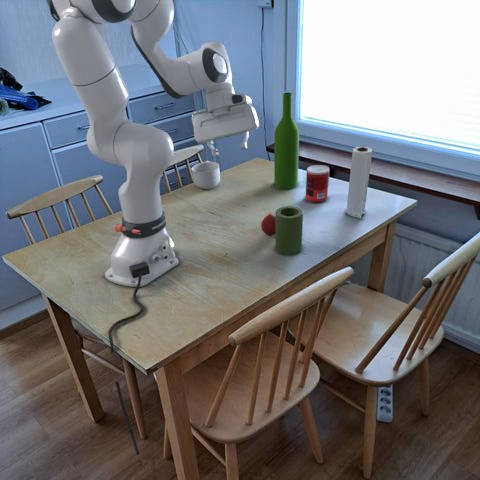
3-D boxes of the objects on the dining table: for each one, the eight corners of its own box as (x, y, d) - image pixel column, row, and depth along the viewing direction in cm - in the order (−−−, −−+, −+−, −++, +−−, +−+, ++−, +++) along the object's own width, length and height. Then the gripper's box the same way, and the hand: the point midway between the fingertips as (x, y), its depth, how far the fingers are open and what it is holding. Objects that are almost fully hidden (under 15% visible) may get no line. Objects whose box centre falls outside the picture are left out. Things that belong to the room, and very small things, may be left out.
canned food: (330, 196, 168) (333, 166, 161) (321, 204, 163) (323, 174, 156) (311, 192, 172) (313, 163, 165) (301, 200, 166) (303, 170, 160)
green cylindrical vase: (296, 257, 136) (297, 219, 128) (271, 252, 139) (271, 215, 131) (305, 245, 141) (307, 208, 134) (281, 240, 144) (281, 204, 137)
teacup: (217, 192, 176) (215, 171, 171) (189, 191, 178) (187, 170, 173) (225, 178, 187) (224, 158, 182) (199, 177, 189) (197, 158, 184)
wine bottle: (302, 184, 178) (305, 92, 158) (287, 191, 173) (289, 97, 153) (284, 178, 183) (285, 89, 163) (269, 185, 178) (269, 94, 158)
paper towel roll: (348, 207, 160) (355, 145, 147) (366, 210, 158) (374, 146, 145) (343, 216, 155) (349, 152, 142) (361, 219, 153) (369, 154, 140)
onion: (283, 235, 147) (283, 211, 142) (271, 242, 144) (271, 218, 139) (269, 230, 150) (269, 207, 145) (257, 236, 147) (257, 213, 142)
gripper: (186, 110, 139) (195, 158, 142) (250, 93, 133) (258, 144, 136) (194, 113, 145) (202, 159, 148) (256, 97, 138) (263, 145, 141)
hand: (229, 152), depth 142 cm, fingers open, 8 cm apart
